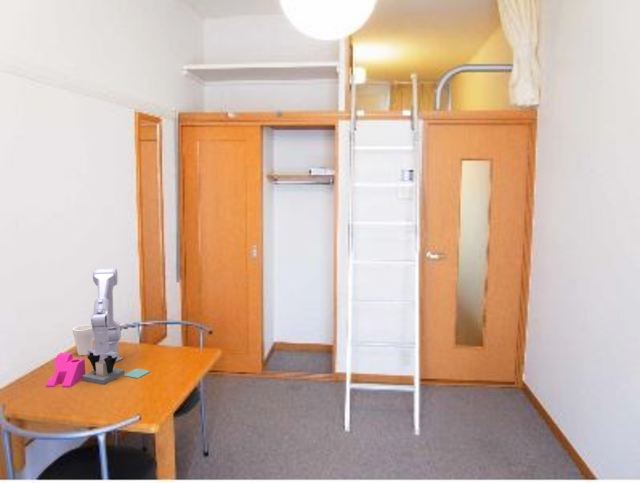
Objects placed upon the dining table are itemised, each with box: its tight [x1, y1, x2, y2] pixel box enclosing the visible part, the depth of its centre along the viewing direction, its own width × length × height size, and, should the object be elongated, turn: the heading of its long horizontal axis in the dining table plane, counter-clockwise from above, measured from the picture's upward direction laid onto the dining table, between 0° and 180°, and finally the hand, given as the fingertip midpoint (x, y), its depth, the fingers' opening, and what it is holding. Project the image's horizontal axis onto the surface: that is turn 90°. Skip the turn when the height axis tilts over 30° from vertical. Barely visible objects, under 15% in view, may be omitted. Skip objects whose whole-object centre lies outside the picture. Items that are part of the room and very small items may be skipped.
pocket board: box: [81, 367, 126, 385], centre depth 207 cm, size 12×12×2 cm
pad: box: [122, 368, 152, 380], centre depth 210 cm, size 8×8×1 cm
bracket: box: [45, 352, 86, 388], centre depth 202 cm, size 12×10×10 cm
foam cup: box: [72, 324, 94, 356], centre depth 235 cm, size 10×9×13 cm
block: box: [95, 360, 108, 376], centre depth 206 cm, size 4×4×7 cm
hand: (103, 371), depth 207 cm, fingers open, 7 cm apart
